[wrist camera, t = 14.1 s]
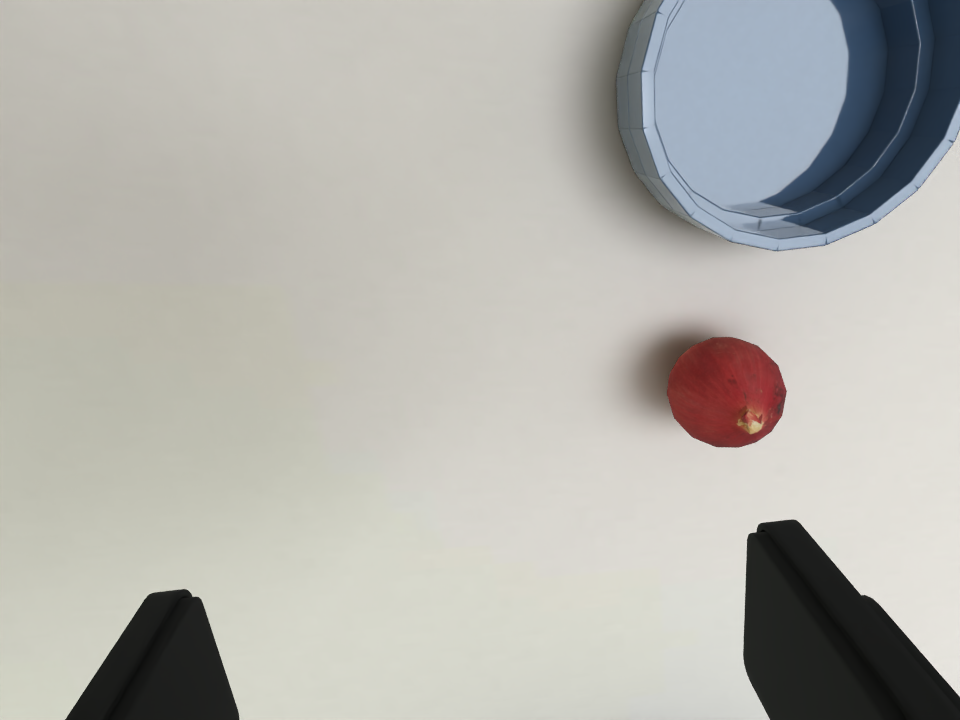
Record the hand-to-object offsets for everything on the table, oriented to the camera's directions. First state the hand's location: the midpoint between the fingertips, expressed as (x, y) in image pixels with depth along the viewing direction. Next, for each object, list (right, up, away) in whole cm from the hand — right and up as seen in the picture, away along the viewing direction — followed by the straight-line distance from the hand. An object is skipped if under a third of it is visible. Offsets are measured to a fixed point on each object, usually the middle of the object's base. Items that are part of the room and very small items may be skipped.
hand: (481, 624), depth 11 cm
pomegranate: (+13, +4, +27) cm, 30 cm away
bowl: (+14, +18, +22) cm, 32 cm away
